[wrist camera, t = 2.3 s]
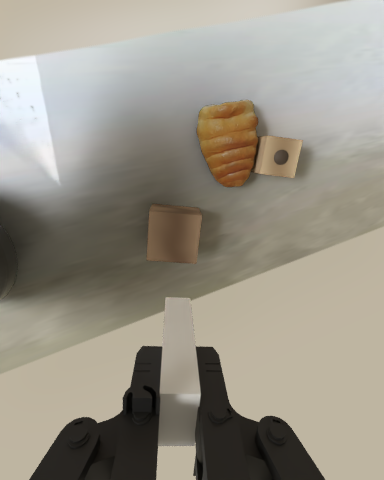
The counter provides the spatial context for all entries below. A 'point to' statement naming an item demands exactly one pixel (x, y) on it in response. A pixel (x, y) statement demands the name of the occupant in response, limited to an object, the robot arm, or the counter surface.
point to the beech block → (276, 156)
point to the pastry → (228, 140)
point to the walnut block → (173, 233)
